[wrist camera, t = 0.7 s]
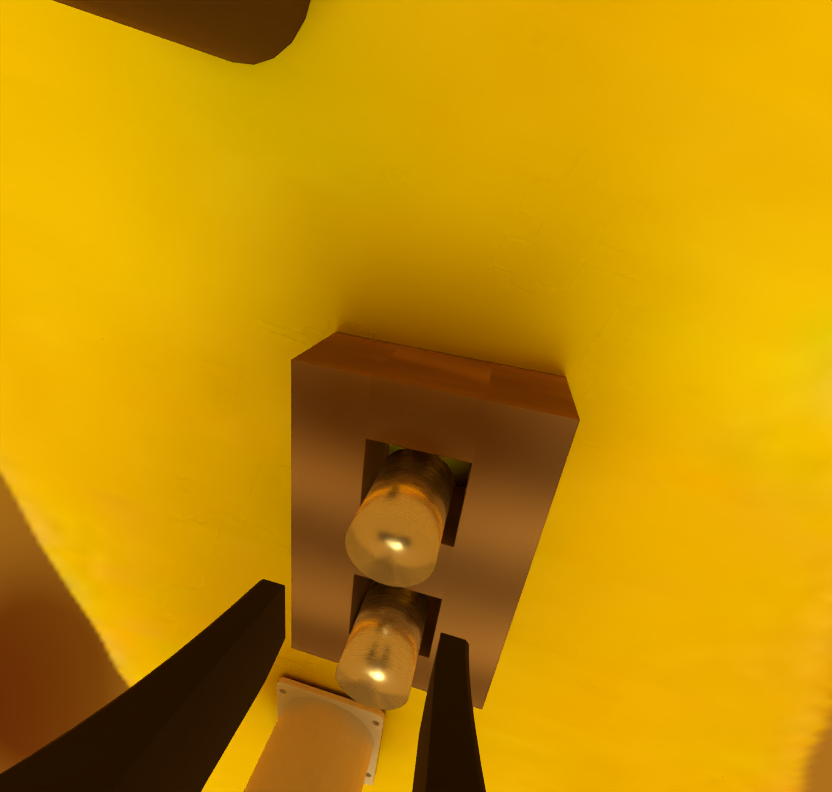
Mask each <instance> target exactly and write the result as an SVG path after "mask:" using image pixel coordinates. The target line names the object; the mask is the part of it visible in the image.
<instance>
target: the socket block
mask: <svg viewBox="0 0 832 792" xmlns="http://www.w3.org/2000/svg"><path fill="white" fill-rule="evenodd" d="M579 421H580V419H579V416H578V413H577V410H576V407H575V404H574V401H573V398H572V395H571V391H570V388H569V385H568V382H567V379H566V377H563V376H558V375H553V374H547V373H542V372H537V371H532V370H527V369H522V368H517V367H511V366H506V365H501V364H496V363H491V362H486V361H481V360H475V359H470V358H465V357H460V356H455V355H450V354H445V353H440V352H434V351H429V350H424V349H419V348H414V347H409V346H404V345H398V344H393V343H388V342H383V341H378V340H373V339H368V338H362V337H357V336H352V335H347V334H342V333H337V332H336V333H334V334H332V335H331V336H329V337H327V338H326V339H324V340H323V341H321V342H319V343H318V344H316V345H315V346H313V347H311V348H310V349H308V350H306V351H305V352H303V353H302V354H300V355H298V356H297V357H295V358H293V359H292V360H291V570H292V648H293V649H297V650H300V651H303V652H306V653H309V654H312V655H315V656H318V657H321V658H324V659H327V660H331V661H334V662H337V663H339V661H340V659H341V656H342V654H343V651H344V649H345V646H346V644H347V641H348V639H349V636H350V634H351V631H352V629H353V626H354V624H355V621H356V619H357V616H358V614H359V611H360V609H361V606H362V604H363V601H364V599H365V596H366V594H367V591H368V589H369V586H370V584H371V583H372V582H373V581H374V580H373V579H371V578H369V577H367V576H366V575H365V574H363V573H362V572H361V571H360V570H359V569H358V568H357V567H356V566H355V565H354V564H353V562H352V561H351V559H350V557H349V555H348V553H347V550H346V545H345V538H346V533H347V531H348V529H349V527H350V525H351V523H352V521H353V520H354V518H355V516H356V514H357V512H358V510H359V508H360V507H361V505H362V503H363V501H364V499H365V497H366V496H367V494H368V492H369V490H370V488H371V486H372V485H373V483H374V481H375V479H376V477H377V475H378V474H379V472H380V470H381V468H382V466H383V464H384V463H385V461H386V459H387V458H388V450H389V444H391V445H396V446H400V447H404V448H409V449H413V450H417V451H421V452H426V453H430V454H434V455H439V456H443V457H447V458H451V459H456V460H460V461H464V462H469V463H470V468H469V473H468V477H467V482H466V486H465V488H463V487H459V486H455V485H454V487H453V492H452V496H451V501H450V505H449V509H448V514H447V518H446V522H445V526H444V531H443V535H442V539H441V543H440V548H439V552H438V556H437V561H436V565H435V568H434V570H433V572H432V574H431V575H430V576H429V577H428V578H427V579H426V580H424V581H423V582H421V583H419V584H417V585H414V586H409V587H401V588H405V589H408V590H412V591H415V592H419V593H422V594H426V595H427V597H428V600H429V609H428V614H427V618H426V623H425V627H424V631H423V636H422V640H421V645H420V649H419V654H418V658H417V662H416V667H415V671H414V676H413V680H412V685H411V687H414V688H417V689H420V690H423V691H426V692H427V691H428V686H429V681H430V677H431V672H432V668H433V664H434V660H435V655H436V651H437V647H438V642H439V638H440V634H441V632H442V633H445V634H448V635H452V636H455V637H458V638H462V639H465V640H466V641H467V642H468V643H469V671H470V685H471V696H472V705H473V707H476V708H479V709H482V708H483V705H484V702H485V699H486V696H487V693H488V690H489V688H490V685H491V682H492V679H493V676H494V673H495V670H496V667H497V664H498V661H499V658H500V655H501V652H502V649H503V646H504V643H505V640H506V637H507V634H508V631H509V628H510V625H511V622H512V619H513V616H514V613H515V610H516V607H517V604H518V602H519V599H520V596H521V593H522V590H523V587H524V584H525V581H526V578H527V575H528V572H529V569H530V566H531V563H532V560H533V557H534V554H535V551H536V548H537V545H538V542H539V539H540V536H541V533H542V530H543V527H544V524H545V521H546V519H547V516H548V513H549V510H550V507H551V504H552V501H553V498H554V495H555V492H556V489H557V486H558V483H559V480H560V477H561V474H562V471H563V468H564V465H565V462H566V459H567V456H568V453H569V450H570V447H571V444H572V441H573V438H574V435H575V433H576V430H577V427H578V424H579Z"/></svg>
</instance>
